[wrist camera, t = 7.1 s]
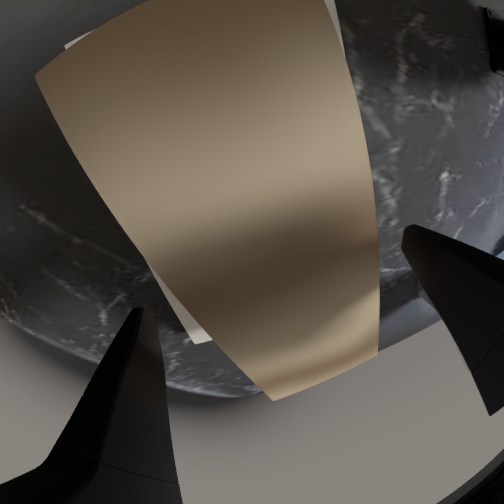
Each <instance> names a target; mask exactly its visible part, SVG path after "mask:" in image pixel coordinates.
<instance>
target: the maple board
mask: <svg viewBox="0 0 504 504" xmlns="http://www.w3.org/2000/svg"><path fill="white" fill-rule="evenodd" d="M34 77H35V79H36V81H37V83H38V86H39V88H40V90H41V92H42V94H43V96H44V98H45V100H46V102H47V104H48V106H49V108H50V110H51V112H52V114H53V116H54V118H55V120H56V122H57V124H58V126H59V127H60V129H61V131H62V133H63V135H64V137H65V138H66V140H67V142H68V144H69V145H70V147H71V149H72V151H73V152H74V154H75V156H76V157H77V159H78V161H79V163H80V164H81V166H82V167H83V169H84V171H85V172H86V174H87V176H88V177H89V179H90V180H91V182H92V184H93V185H94V187H95V188H96V190H97V191H98V193H99V194H100V196H101V197H102V199H103V200H104V202H105V203H106V205H107V206H108V208H109V209H110V211H111V212H112V214H113V215H114V217H115V218H116V220H117V221H118V222H119V224H120V225H121V227H122V228H123V229H124V231H125V232H126V234H127V235H128V236H129V238H130V239H131V241H132V242H133V243H134V245H135V246H136V247H137V249H138V250H139V251H140V253H141V254H142V255H143V257H144V258H145V259H146V261H147V262H148V263H149V264H150V266H151V267H152V268H153V270H154V271H155V272H156V273H157V275H158V276H159V277H160V278H161V280H162V281H163V282H164V283H165V285H166V286H167V287H168V288H169V290H170V291H171V292H172V293H173V294H174V296H175V297H176V298H177V299H178V301H179V302H180V303H181V304H182V305H183V306H184V308H185V309H186V310H187V311H188V312H189V313H190V315H191V316H192V317H193V318H194V319H195V320H196V322H197V323H198V324H199V325H200V326H201V327H202V328H203V329H204V331H205V332H206V333H207V334H208V335H209V336H210V337H211V338H212V339H213V340H214V342H215V343H216V344H217V345H218V346H219V347H220V348H221V349H222V350H223V351H224V352H225V353H226V354H227V355H228V357H229V358H230V359H231V360H232V361H233V362H234V363H235V364H236V365H237V366H238V367H239V368H240V369H241V370H242V371H243V372H244V373H245V374H246V375H247V376H248V377H249V378H250V379H251V380H252V381H253V382H254V383H255V384H256V385H257V386H258V387H259V388H260V389H261V390H262V391H263V392H264V393H265V394H266V395H267V396H269V397H270V398H271V399H272V400H273V401H275V400H277V399H280V398H283V397H286V396H288V395H291V394H294V393H296V392H299V391H301V390H304V389H306V388H309V387H311V386H313V385H316V384H318V383H321V382H323V381H325V380H327V379H330V378H332V377H334V376H336V375H338V374H341V373H343V372H345V371H347V370H349V369H351V368H353V367H355V366H357V365H359V364H361V363H363V362H365V361H367V360H369V359H371V358H372V357H374V356H376V355H377V351H378V336H379V307H380V278H379V249H378V233H377V220H376V210H375V200H374V192H373V184H372V176H371V170H370V163H369V157H368V151H367V145H366V140H365V135H364V130H363V125H362V120H361V116H360V111H359V107H358V103H357V98H356V94H355V91H354V87H353V83H352V79H351V76H350V72H349V69H348V65H347V62H346V59H345V56H344V53H343V49H342V46H341V43H340V40H339V38H338V35H337V32H336V29H335V26H334V24H333V21H332V19H331V16H330V13H329V11H328V8H327V6H326V4H325V1H324V0H148V1H146V2H144V3H142V4H140V5H138V6H136V7H134V8H132V9H130V10H128V11H126V12H124V13H122V14H120V15H119V16H117V17H115V18H113V19H112V20H110V21H108V22H106V23H105V24H103V25H101V26H100V27H98V28H97V29H95V30H93V31H92V32H90V33H89V34H87V35H86V36H84V37H83V38H81V39H80V40H78V41H77V42H76V43H74V44H73V45H71V46H70V47H69V48H67V49H66V50H65V51H63V52H62V53H61V54H59V55H58V56H57V57H56V58H54V59H53V60H52V61H51V62H49V63H48V64H47V65H46V66H45V67H44V68H42V69H41V70H40V71H39V72H38V73H37V74H36V75H34Z"/></svg>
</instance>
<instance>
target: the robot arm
mask: <svg viewBox="0 0 504 504" xmlns="http://www.w3.org/2000/svg"><path fill="white" fill-rule="evenodd" d="M484 14H485V18H486V24H487V29H488V36H489V43H490V51H491V62H492V69H493V72H495V73H497V74H500V75H503V76H504V18H503V17H502V16H500V15H499V14H497V13H496V12H494V11H493V10H491V9H490V8H487V7H484ZM401 249H402V252H403V254H404V255H405V257H406V259H407V261H408V262H409V264H410V266H411V268H412V270H413V271H414V273H415V275H416V277H417V279H418V281H419V282H420V284H421V286H422V287H423V289H424V291H425V292H426V294H427V295H428V297H429V298H430V300H431V302H432V303H433V305H434V306H435V308H436V310H437V311H438V313H439V315H440V316H441V318H442V320H443V321H444V323H445V325H446V327H447V328H448V330H449V332H450V334H451V335H452V337H453V339H454V341H455V343H456V345H457V347H458V348H459V350H460V352H461V354H462V356H463V358H464V360H465V362H466V364H467V366H468V368H469V370H470V372H471V375H472V377H473V379H474V381H475V383H476V385H477V388H478V390H479V392H480V395H481V397H482V399H483V402H484V404H485V407H486V409H487V412H488V414H489V415H490V416H491V415H493V414H494V413H496V412H497V411H498V410H500V409H501V408H502V407H504V260H502V259H500V258H498V257H495V256H493V255H491V254H489V253H487V252H484V251H482V250H480V249H477V248H475V247H473V246H470V245H468V244H465V243H463V242H460V241H458V240H455V239H453V238H450V237H448V236H445V235H443V234H440V233H437V232H435V231H432V230H429V229H426V228H424V227H421V226H418V225H415V224H413V225H409V226H407V227H405V228H404V231H403V237H402V243H401ZM83 395H84V396H82V397H81V399H80V401H79V403H78V405H77V407H76V408H75V410H74V412H73V414H72V416H71V418H70V419H69V421H68V423H67V424H66V426H65V428H64V430H63V431H62V433H61V435H60V436H59V438H58V440H57V441H56V443H55V445H54V447H53V449H52V450H51V452H50V454H49V455H48V457H47V458H46V460H45V461H44V462H43V463H42V464H41V465H40V466H38V467H37V468H35V469H33V470H31V471H29V472H27V473H25V474H23V475H20V476H18V477H16V478H14V479H12V480H9V481H7V482H5V483H3V484H0V504H183V502H182V498H181V492H180V487H179V484H178V477H177V472H176V466H175V460H174V454H173V447H172V439H171V432H170V424H169V414H168V405H167V394H166V381H165V369H164V362H163V357H162V351H161V345H160V338H159V331H158V326H157V323H156V321H155V320H154V318H153V317H152V315H151V314H150V312H149V311H148V309H147V308H146V307H145V306H141V307H137V308H134V309H132V310H131V312H130V314H129V315H128V317H127V318H126V320H125V322H124V323H123V325H122V327H121V328H120V330H119V331H118V333H117V335H116V336H115V338H114V340H113V341H112V343H111V345H110V347H109V348H108V350H107V352H106V353H105V355H104V357H103V359H102V360H101V362H100V364H99V366H98V367H97V369H96V371H95V373H94V375H93V377H92V378H91V380H90V382H89V384H88V386H87V388H86V389H85V391H84V393H83ZM437 504H504V449H503V450H502V451H501V452H500V453H499V454H498V455H497V456H496V457H495V458H494V459H493V460H492V461H491V462H490V463H488V464H487V465H486V466H485V467H484V468H483V469H482V470H480V471H479V472H478V473H477V474H476V475H475V476H473V477H472V478H471V479H470V480H468V481H467V482H466V483H465V484H463V485H462V486H461V487H459V488H458V489H457V490H456V491H454V492H453V493H451V494H450V495H449V496H447V497H446V498H444V499H443V500H441V501H440V502H438V503H437Z"/></svg>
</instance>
